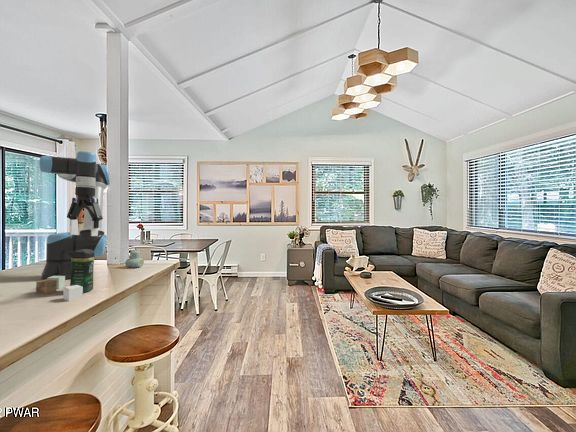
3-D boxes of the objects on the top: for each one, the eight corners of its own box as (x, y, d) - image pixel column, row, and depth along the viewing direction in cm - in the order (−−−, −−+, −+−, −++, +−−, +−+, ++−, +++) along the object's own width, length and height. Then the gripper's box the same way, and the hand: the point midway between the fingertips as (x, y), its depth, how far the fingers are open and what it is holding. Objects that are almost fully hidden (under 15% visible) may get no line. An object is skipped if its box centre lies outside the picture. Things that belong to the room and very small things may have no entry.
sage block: (46, 289, 148) (47, 277, 148) (53, 286, 153) (53, 275, 153) (58, 289, 149) (58, 278, 149) (64, 286, 154) (65, 275, 154)
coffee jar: (86, 293, 143) (88, 250, 143) (66, 293, 142) (68, 250, 141) (96, 288, 152) (97, 248, 152) (77, 288, 151) (79, 247, 151)
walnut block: (36, 293, 141) (36, 281, 141) (46, 290, 146) (46, 279, 146) (46, 294, 140) (46, 282, 140) (56, 291, 145) (56, 280, 145)
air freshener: (133, 265, 215) (133, 250, 215) (145, 266, 214) (146, 250, 214) (123, 268, 204) (123, 252, 204) (136, 269, 204) (136, 252, 203)
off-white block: (63, 299, 134) (63, 286, 133) (76, 296, 138) (77, 284, 138) (68, 301, 131) (69, 288, 131) (82, 299, 135) (82, 286, 135)
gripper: (58, 186, 148) (57, 233, 148) (96, 186, 138) (95, 237, 138) (75, 187, 155) (73, 233, 155) (112, 187, 145) (111, 236, 145)
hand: (83, 235), depth 147 cm, fingers open, 13 cm apart
